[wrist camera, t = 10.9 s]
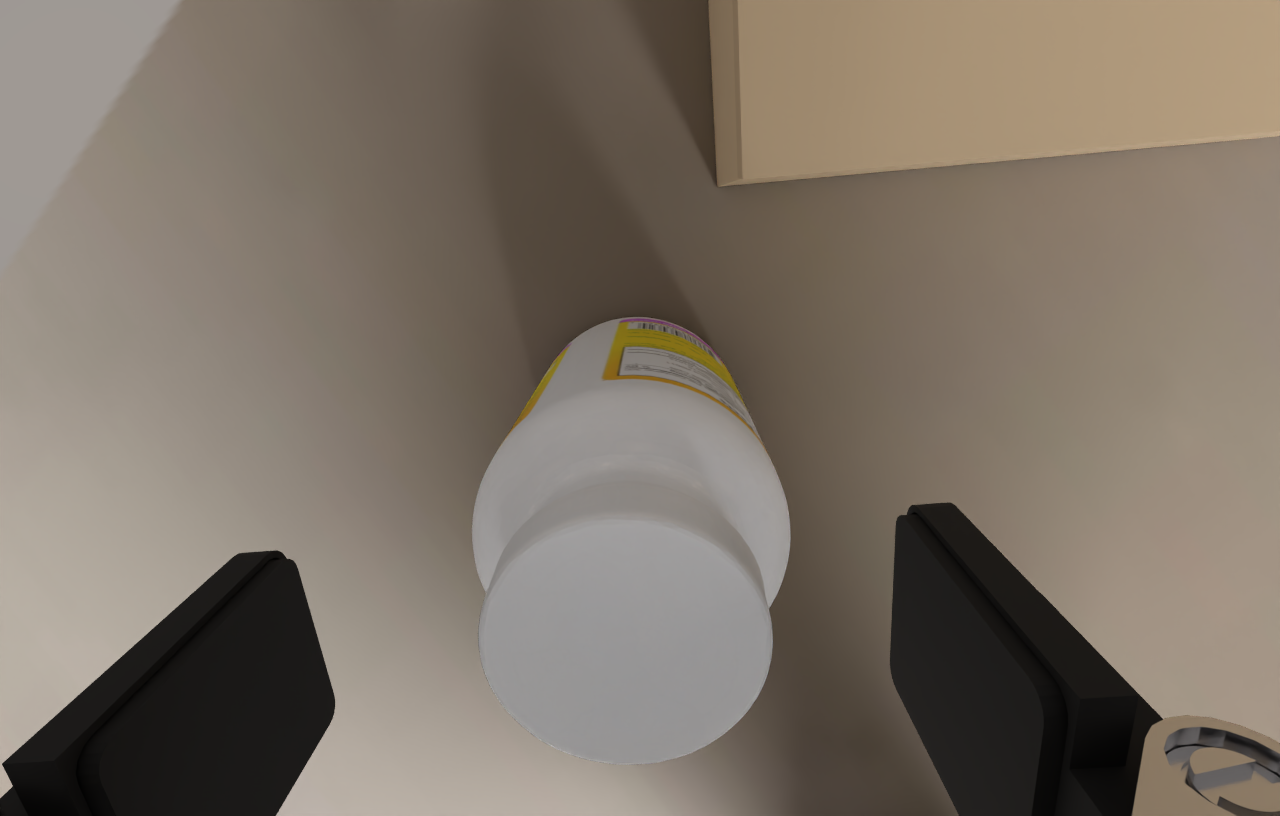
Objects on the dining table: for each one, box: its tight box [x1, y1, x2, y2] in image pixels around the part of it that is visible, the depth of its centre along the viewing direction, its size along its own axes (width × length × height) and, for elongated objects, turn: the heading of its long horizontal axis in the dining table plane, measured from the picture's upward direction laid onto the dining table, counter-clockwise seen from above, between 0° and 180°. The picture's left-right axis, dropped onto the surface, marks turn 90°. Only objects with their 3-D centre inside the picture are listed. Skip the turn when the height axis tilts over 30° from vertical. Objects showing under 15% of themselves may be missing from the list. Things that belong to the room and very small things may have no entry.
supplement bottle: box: [472, 317, 791, 765], centre depth 16 cm, size 7×7×13 cm
